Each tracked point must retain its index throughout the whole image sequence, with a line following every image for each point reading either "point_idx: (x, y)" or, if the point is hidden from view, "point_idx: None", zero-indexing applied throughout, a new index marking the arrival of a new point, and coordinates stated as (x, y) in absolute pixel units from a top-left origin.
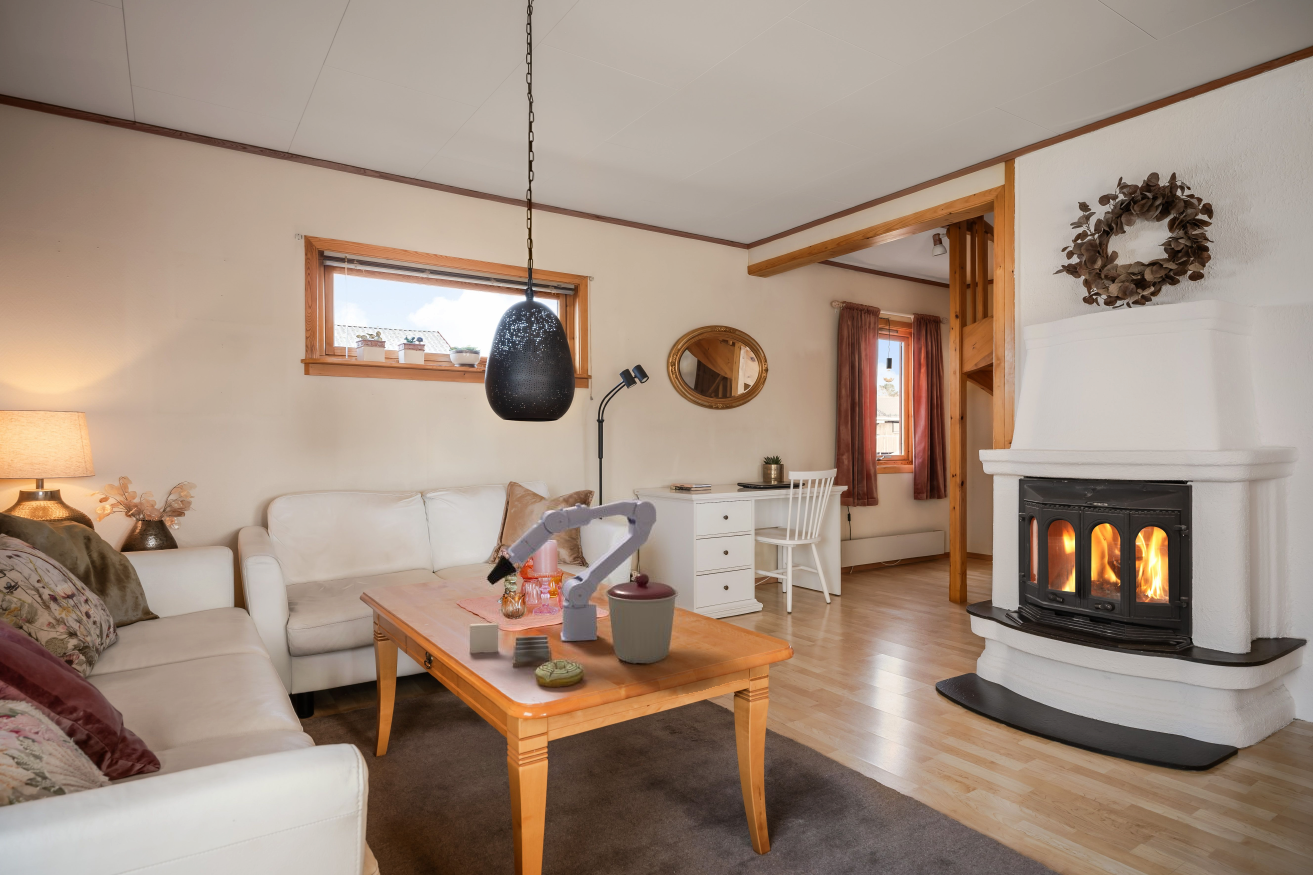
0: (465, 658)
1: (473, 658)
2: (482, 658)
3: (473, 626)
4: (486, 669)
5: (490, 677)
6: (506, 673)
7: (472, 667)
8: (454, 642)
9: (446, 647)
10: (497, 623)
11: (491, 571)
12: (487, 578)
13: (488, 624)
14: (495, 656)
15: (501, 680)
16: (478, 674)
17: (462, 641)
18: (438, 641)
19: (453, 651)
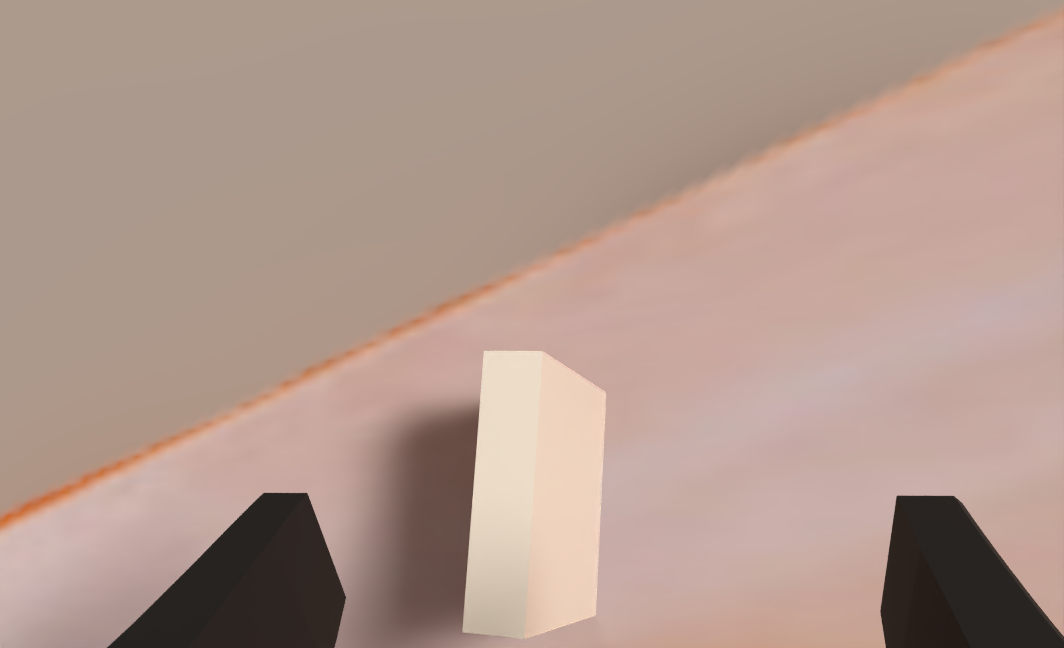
0: (439, 370)
1: (425, 425)
2: (410, 488)
3: (484, 386)
4: (193, 515)
5: (64, 538)
6: (93, 639)
7: (252, 427)
8: (885, 245)
9: (742, 203)
10: (507, 629)
11: (959, 623)
12: (252, 504)
13: (491, 532)
14: (432, 585)
15: (3, 600)
16: (128, 467)
17: (909, 308)
18: (940, 111)
19: (623, 269)
